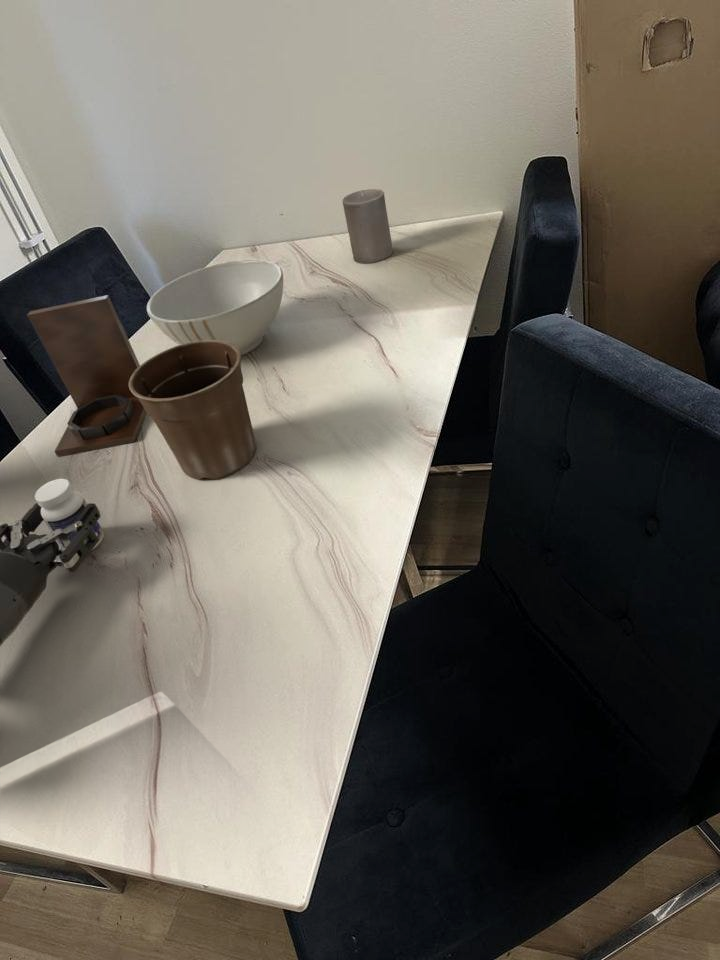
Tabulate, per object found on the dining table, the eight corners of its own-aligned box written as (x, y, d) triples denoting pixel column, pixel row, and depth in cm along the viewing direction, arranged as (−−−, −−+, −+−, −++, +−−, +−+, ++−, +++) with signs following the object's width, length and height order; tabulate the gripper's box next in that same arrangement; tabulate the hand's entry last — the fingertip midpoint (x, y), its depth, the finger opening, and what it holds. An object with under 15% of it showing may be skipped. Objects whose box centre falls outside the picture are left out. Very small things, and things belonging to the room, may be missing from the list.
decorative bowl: (184, 395, 122) (159, 336, 114) (158, 343, 142) (136, 290, 134) (317, 344, 127) (301, 285, 120) (274, 301, 148) (259, 248, 140)
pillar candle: (345, 260, 159) (331, 195, 150) (374, 244, 163) (362, 181, 154) (372, 266, 153) (360, 199, 143) (402, 250, 157) (392, 184, 148)
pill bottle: (113, 534, 94) (81, 480, 88) (81, 562, 90) (46, 508, 84) (88, 524, 97) (55, 471, 91) (56, 550, 93) (21, 498, 87)
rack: (57, 456, 113) (-5, 353, 101) (82, 408, 125) (30, 311, 113) (135, 442, 112) (83, 335, 100) (153, 394, 124) (108, 294, 112)
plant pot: (291, 445, 103) (262, 353, 93) (208, 504, 95) (167, 411, 85) (231, 416, 113) (199, 330, 103) (151, 467, 105) (108, 380, 95)
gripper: (29, 581, 74) (101, 486, 86) (-70, 577, 78) (12, 487, 90) (60, 623, 79) (124, 527, 91) (-34, 617, 83) (39, 526, 95)
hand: (68, 507), depth 91 cm, fingers open, 8 cm apart
